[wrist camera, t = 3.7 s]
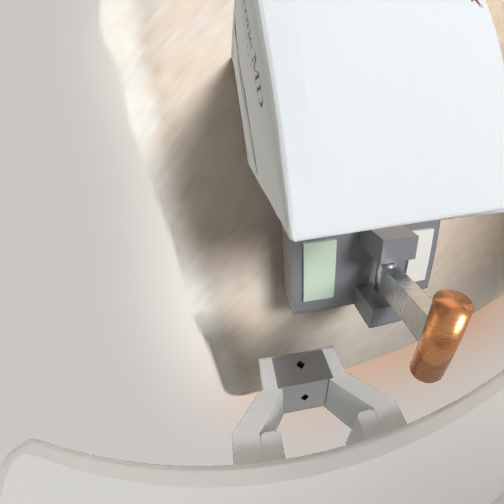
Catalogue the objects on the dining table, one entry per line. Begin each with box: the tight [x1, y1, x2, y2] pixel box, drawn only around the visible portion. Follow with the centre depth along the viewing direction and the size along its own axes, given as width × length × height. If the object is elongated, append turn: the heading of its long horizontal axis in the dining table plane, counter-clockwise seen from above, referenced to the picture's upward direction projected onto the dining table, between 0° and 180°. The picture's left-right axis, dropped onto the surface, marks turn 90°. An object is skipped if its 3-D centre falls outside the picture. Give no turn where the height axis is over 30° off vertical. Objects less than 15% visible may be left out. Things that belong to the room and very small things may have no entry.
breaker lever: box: [374, 262, 474, 383], centre depth 12 cm, size 2×4×8 cm, turn 5°
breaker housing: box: [281, 220, 440, 328], centre depth 17 cm, size 11×6×6 cm, turn 95°
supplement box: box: [231, 0, 504, 242], centre depth 9 cm, size 7×7×13 cm
